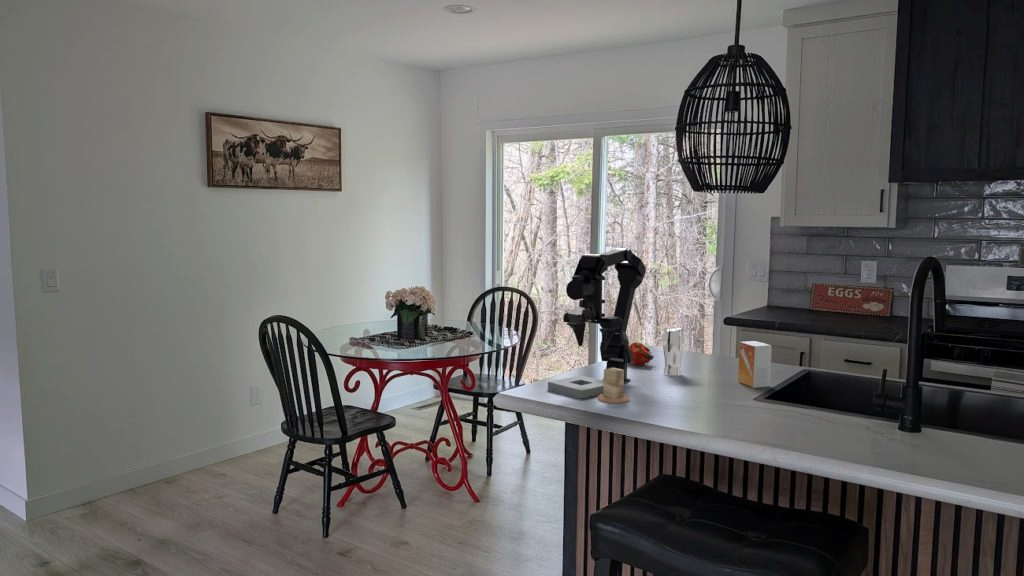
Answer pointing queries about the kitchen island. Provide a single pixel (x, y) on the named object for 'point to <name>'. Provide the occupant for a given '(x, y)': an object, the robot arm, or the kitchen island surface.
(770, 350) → the small box
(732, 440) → the kitchen island surface
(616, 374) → the beech block
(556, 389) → the pocket board
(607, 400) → the coaster
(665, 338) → the beer glass
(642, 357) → the dragon fruit
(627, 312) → the robot arm
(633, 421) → the kitchen island surface
